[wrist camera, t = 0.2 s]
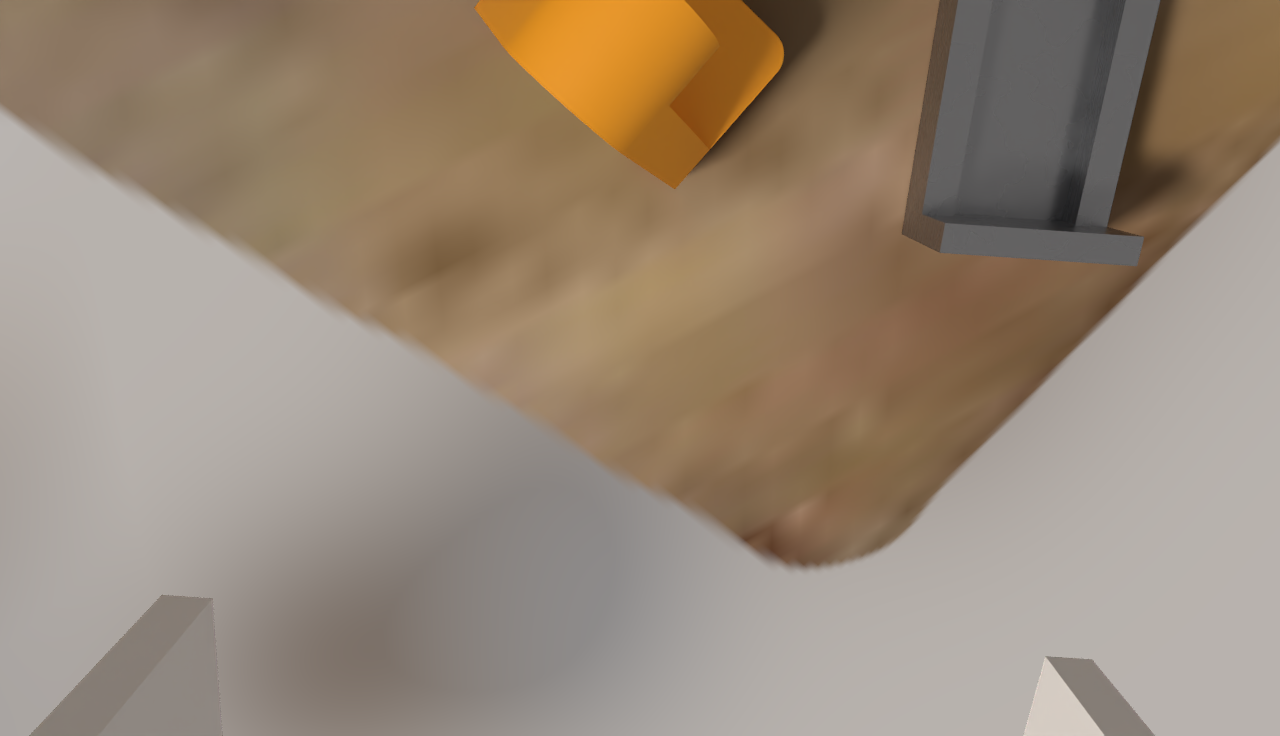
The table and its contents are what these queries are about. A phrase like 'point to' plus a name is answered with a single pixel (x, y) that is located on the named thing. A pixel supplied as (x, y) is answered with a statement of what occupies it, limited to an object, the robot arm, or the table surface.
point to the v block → (1028, 128)
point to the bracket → (644, 69)
